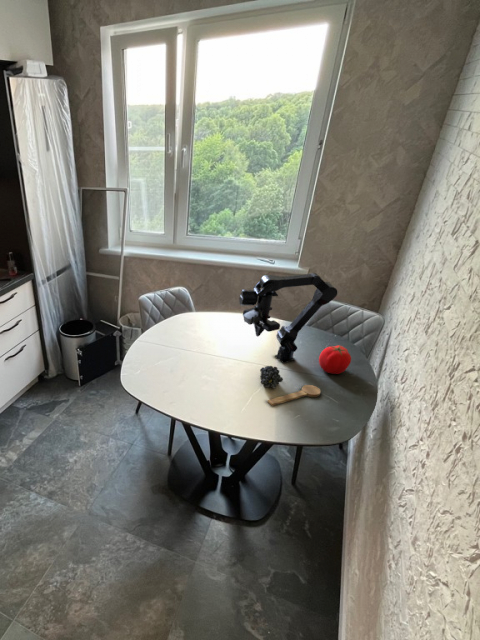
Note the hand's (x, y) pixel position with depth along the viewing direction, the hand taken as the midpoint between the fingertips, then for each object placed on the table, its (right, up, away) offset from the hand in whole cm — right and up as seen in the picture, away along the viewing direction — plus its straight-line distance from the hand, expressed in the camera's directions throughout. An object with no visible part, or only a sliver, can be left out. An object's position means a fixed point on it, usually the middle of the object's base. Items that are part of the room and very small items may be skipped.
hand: (257, 336), depth 183 cm
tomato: (+32, -16, -4) cm, 36 cm away
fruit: (+1, -21, -10) cm, 23 cm away
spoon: (+6, -27, -20) cm, 34 cm away
